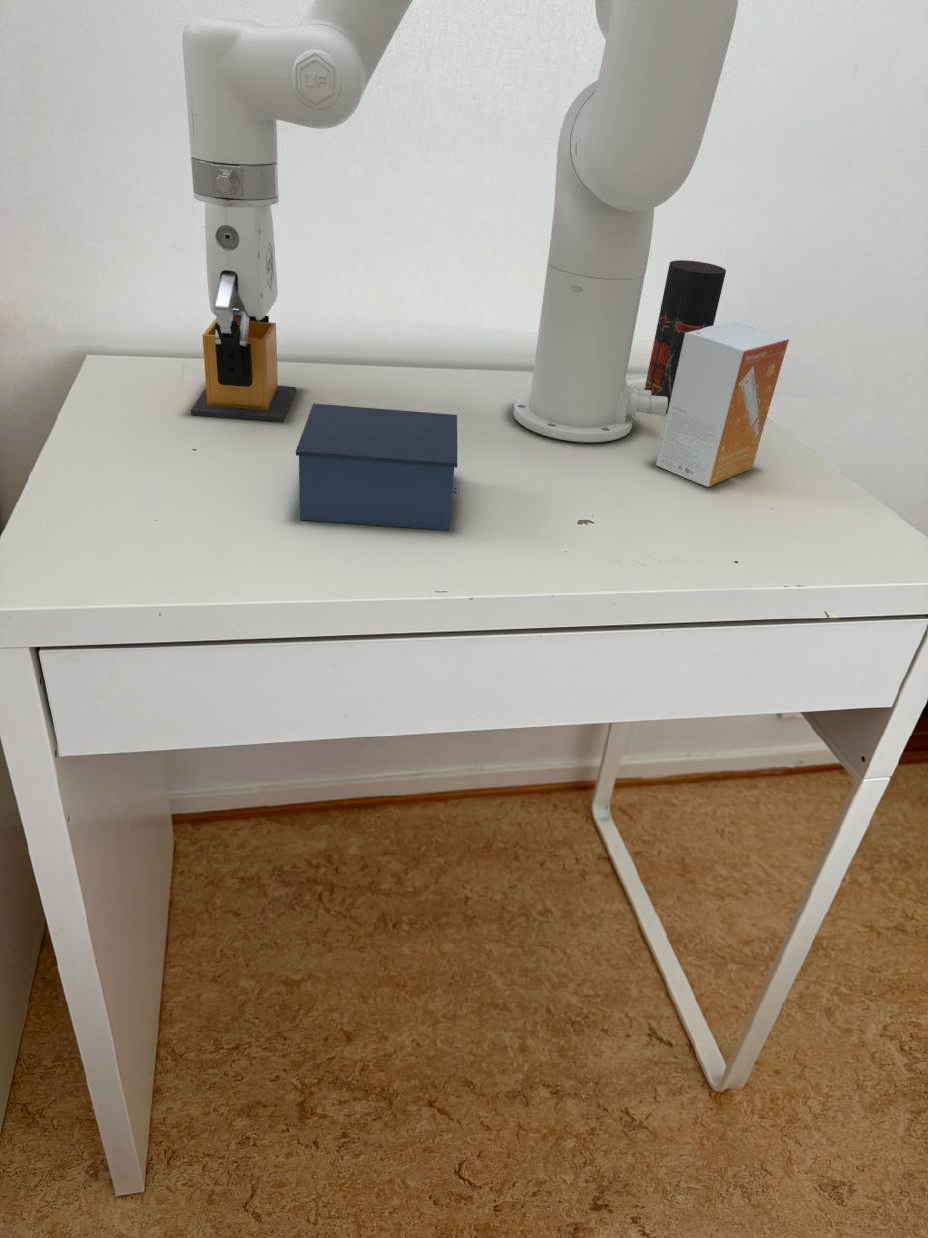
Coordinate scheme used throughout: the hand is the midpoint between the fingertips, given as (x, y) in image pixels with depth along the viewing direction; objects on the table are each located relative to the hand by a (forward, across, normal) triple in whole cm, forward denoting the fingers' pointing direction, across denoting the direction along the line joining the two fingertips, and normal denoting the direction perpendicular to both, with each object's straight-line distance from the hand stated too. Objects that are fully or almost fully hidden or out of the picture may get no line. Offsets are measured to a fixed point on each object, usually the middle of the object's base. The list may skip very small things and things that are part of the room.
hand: (245, 368), depth 91 cm
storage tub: (+4, -20, -15) cm, 25 cm away
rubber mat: (+4, 0, 0) cm, 4 cm away
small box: (+4, -8, -46) cm, 47 cm away
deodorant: (+4, +10, -46) cm, 47 cm away
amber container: (+3, 0, 0) cm, 3 cm away
